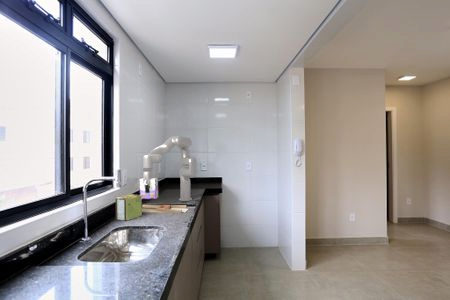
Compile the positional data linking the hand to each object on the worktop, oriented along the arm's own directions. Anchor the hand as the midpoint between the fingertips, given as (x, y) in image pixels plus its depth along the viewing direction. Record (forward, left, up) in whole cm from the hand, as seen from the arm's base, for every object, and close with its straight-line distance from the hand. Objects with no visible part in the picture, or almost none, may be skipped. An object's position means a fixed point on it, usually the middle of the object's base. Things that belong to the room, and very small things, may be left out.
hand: (148, 191), depth 210 cm
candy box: (0, 0, -6) cm, 6 cm away
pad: (+1, +25, -15) cm, 29 cm away
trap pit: (+1, +13, -15) cm, 20 cm away
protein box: (+24, -5, -15) cm, 29 cm away
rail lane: (+1, +11, -15) cm, 18 cm away
